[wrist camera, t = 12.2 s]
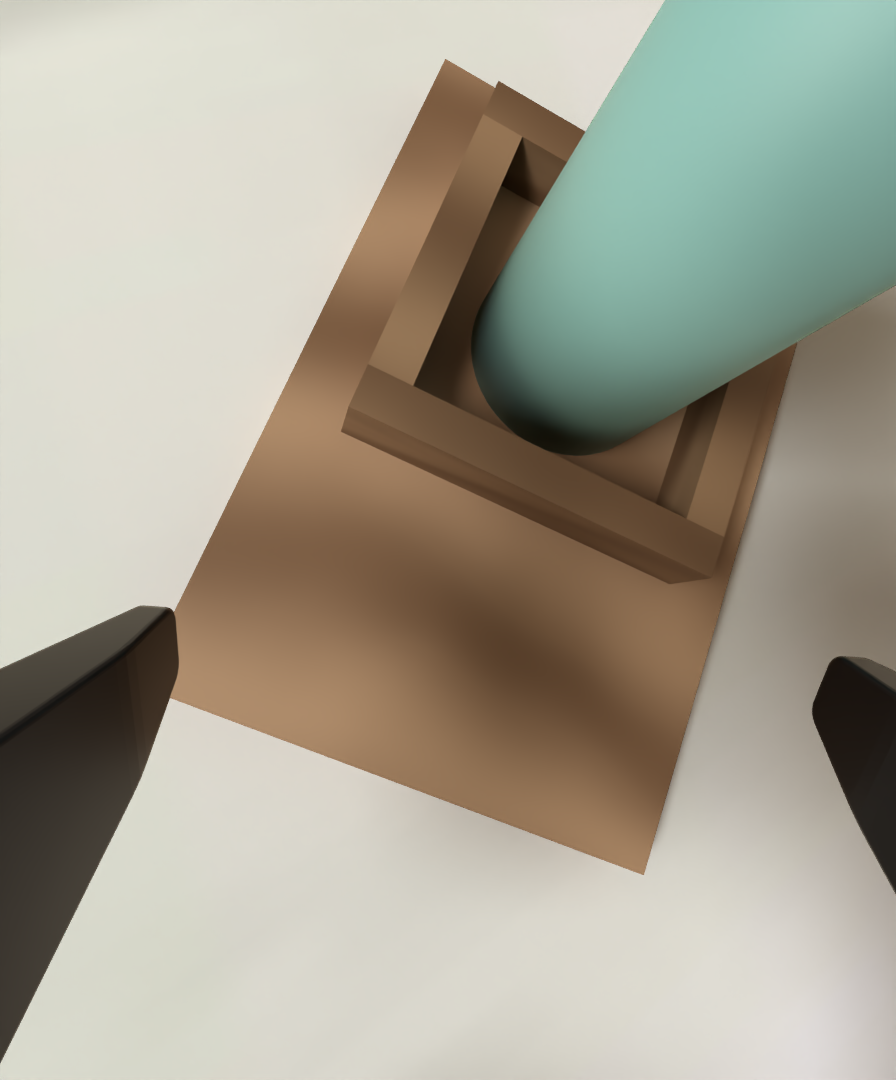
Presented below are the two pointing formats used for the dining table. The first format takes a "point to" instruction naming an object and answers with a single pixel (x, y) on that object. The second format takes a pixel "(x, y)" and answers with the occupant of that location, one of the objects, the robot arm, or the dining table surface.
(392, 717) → the walnut base
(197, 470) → the dining table surface
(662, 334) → the teal post
